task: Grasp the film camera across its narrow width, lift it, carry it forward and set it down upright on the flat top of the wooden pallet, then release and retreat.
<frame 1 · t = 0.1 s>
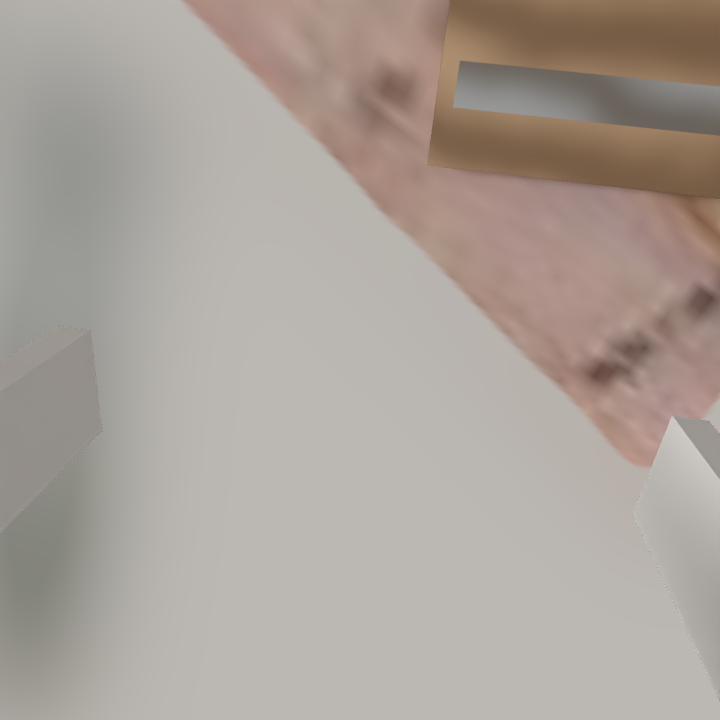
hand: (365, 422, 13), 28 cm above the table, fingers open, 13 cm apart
wooden pallet: (620, 34, 33), on the table
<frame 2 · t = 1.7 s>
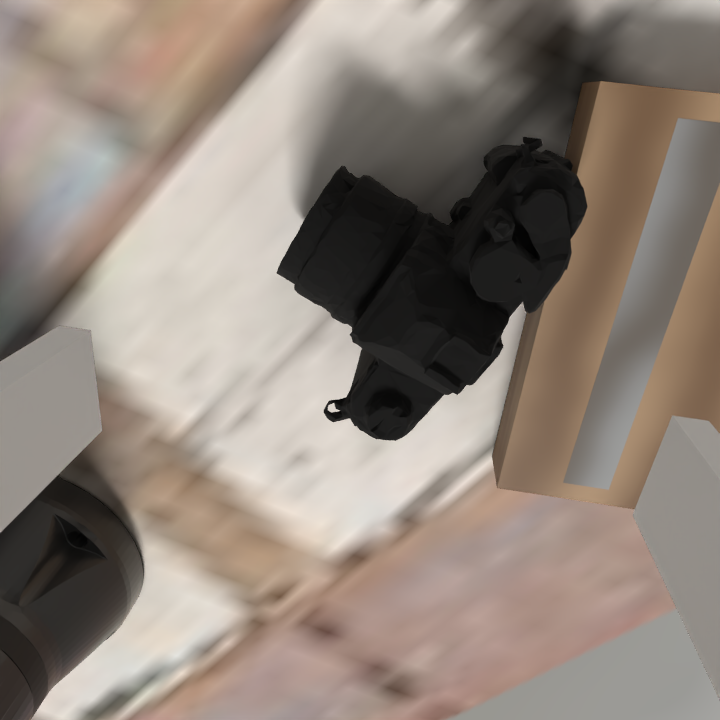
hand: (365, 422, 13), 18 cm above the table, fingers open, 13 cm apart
wooden pallet: (689, 318, 29), on the table
film camera: (407, 249, 29), on the table
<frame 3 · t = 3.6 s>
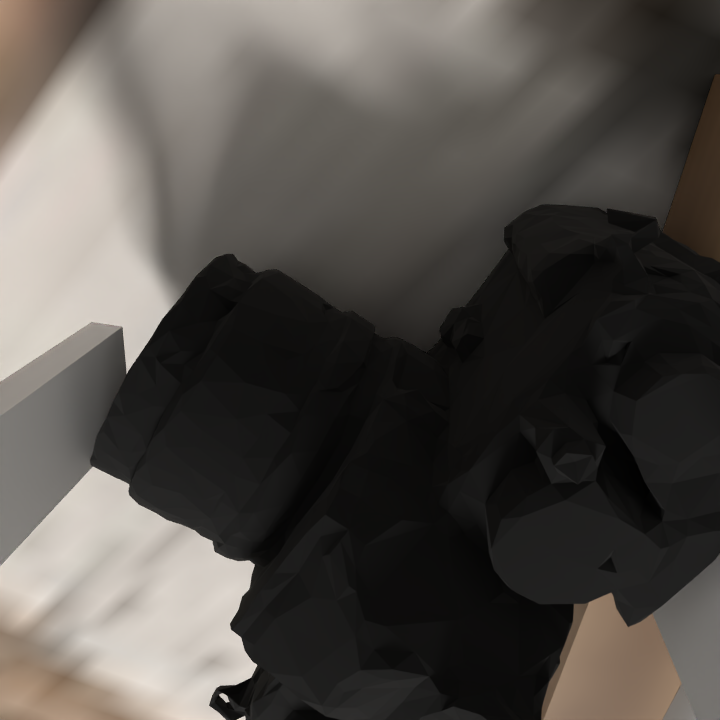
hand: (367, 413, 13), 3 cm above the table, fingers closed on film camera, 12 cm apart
film camera: (367, 376, 17), on the table, touching gripper
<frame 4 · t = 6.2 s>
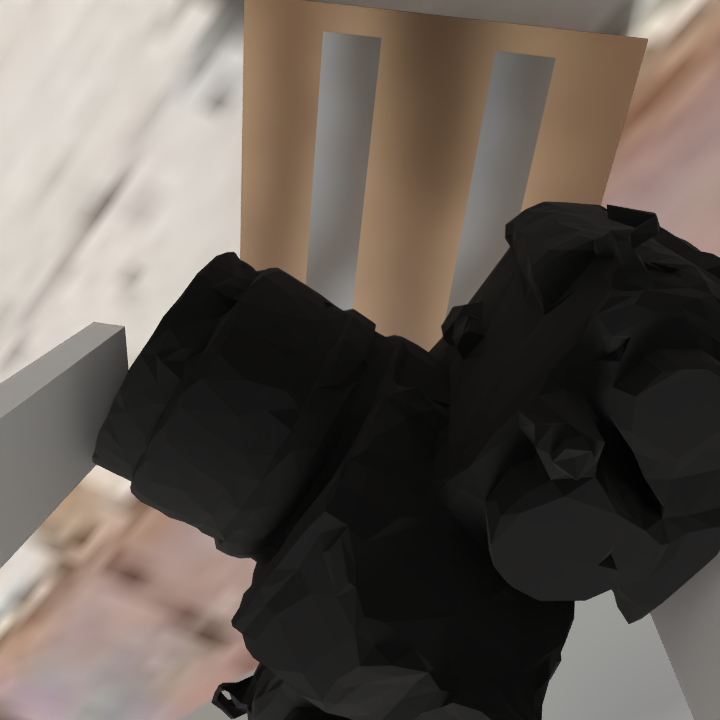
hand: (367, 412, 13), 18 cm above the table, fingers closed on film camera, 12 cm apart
wooden pallet: (408, 246, 29), on the table
film camera: (369, 374, 17), point 14 cm above the table, touching gripper
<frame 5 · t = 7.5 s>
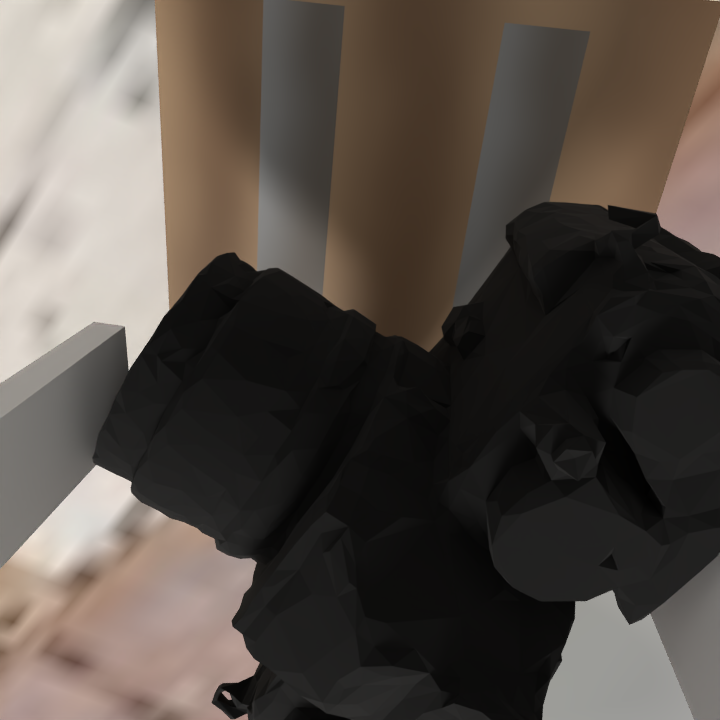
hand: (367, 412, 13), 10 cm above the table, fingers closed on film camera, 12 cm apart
wooden pallet: (391, 283, 23), on the table
film camera: (369, 374, 17), point 7 cm above the table, touching gripper
when the fingers open (7 cm above the table, at t = 8.7 s): film camera drops 1 cm, resting on wooden pallet.
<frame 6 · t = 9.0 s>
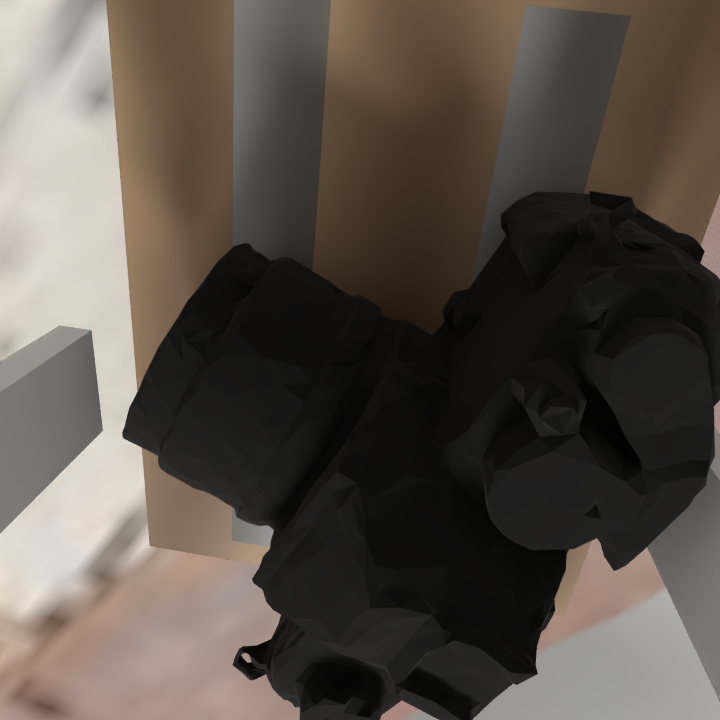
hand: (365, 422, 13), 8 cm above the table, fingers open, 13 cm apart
wooden pallet: (389, 309, 20), on the table
film camera: (376, 359, 18), point 3 cm above the table, touching wooden pallet
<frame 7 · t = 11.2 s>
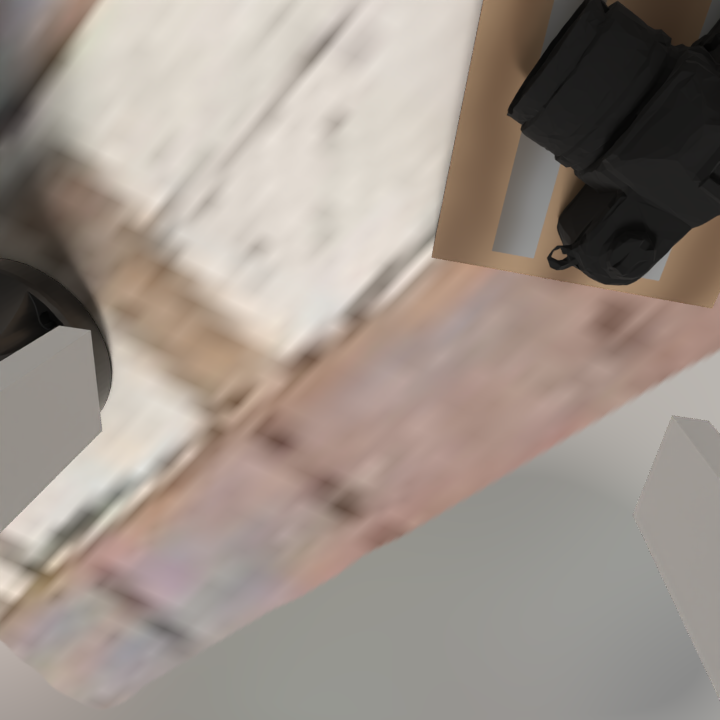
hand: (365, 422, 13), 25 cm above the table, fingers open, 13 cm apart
wooden pallet: (614, 92, 31), on the table
film camera: (621, 106, 29), point 3 cm above the table, touching wooden pallet
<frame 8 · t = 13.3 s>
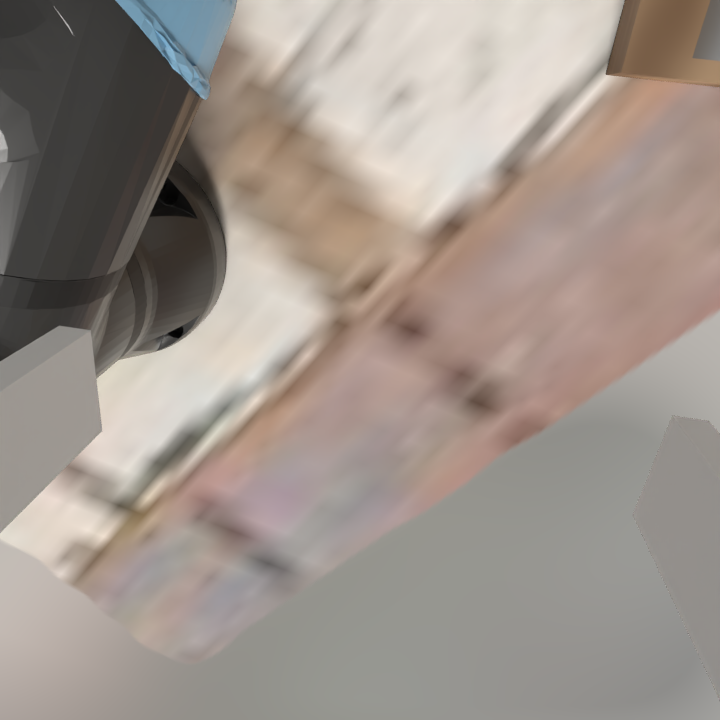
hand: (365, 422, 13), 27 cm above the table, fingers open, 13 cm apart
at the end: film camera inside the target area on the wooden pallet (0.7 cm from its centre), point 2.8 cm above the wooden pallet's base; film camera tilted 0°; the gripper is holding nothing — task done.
